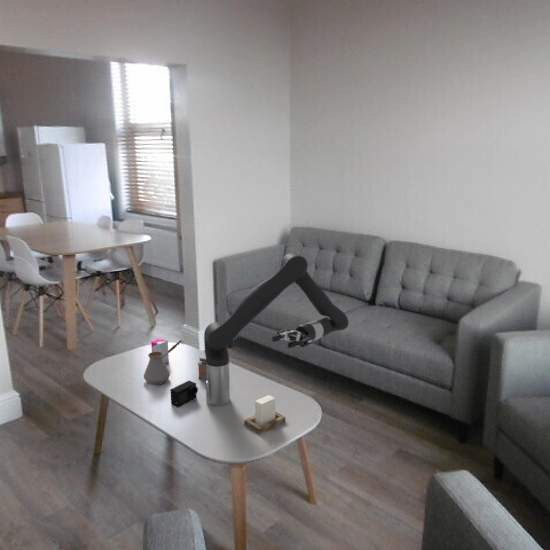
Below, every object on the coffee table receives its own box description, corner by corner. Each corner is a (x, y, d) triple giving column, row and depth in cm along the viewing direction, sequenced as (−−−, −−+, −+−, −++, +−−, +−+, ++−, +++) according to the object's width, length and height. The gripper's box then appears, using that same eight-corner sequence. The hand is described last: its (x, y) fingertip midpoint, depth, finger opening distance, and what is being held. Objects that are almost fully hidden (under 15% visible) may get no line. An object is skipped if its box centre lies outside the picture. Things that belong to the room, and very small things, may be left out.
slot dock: (260, 434, 193) (260, 429, 192) (244, 424, 199) (244, 420, 198) (285, 421, 201) (285, 416, 201) (269, 412, 208) (269, 408, 207)
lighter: (216, 378, 237) (216, 357, 235) (213, 381, 234) (213, 360, 232) (200, 376, 239) (199, 355, 237) (197, 379, 236) (196, 358, 234)
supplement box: (169, 362, 254) (168, 340, 251) (160, 366, 249) (159, 344, 246) (160, 359, 257) (159, 337, 254) (151, 364, 252) (150, 341, 249)
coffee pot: (154, 389, 227) (152, 357, 223) (138, 381, 234) (136, 350, 230) (192, 372, 243) (190, 342, 239) (175, 366, 250) (174, 336, 246)
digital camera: (180, 408, 211) (179, 393, 209) (170, 404, 214) (170, 389, 212) (198, 399, 219) (198, 383, 217) (189, 395, 222) (189, 380, 220)
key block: (255, 424, 199) (255, 400, 197) (269, 418, 204) (269, 394, 201) (261, 428, 197) (261, 404, 194) (275, 421, 201) (275, 398, 199)
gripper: (297, 318, 215) (267, 328, 204) (323, 327, 205) (293, 338, 194) (296, 336, 216) (267, 346, 206) (322, 345, 206) (293, 357, 196)
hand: (280, 342), depth 200 cm, fingers open, 8 cm apart
